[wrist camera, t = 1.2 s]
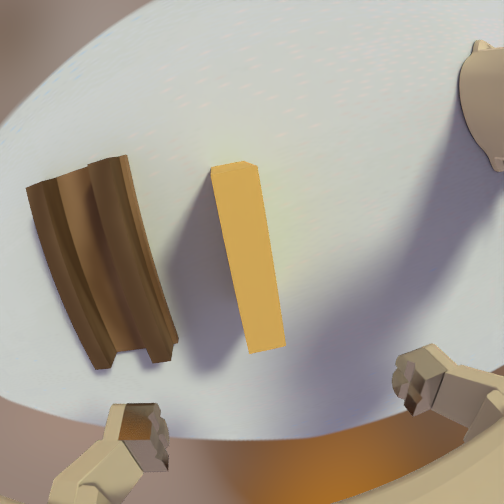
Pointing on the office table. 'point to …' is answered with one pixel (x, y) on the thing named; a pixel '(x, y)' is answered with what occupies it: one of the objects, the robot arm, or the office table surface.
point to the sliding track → (103, 261)
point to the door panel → (249, 253)
